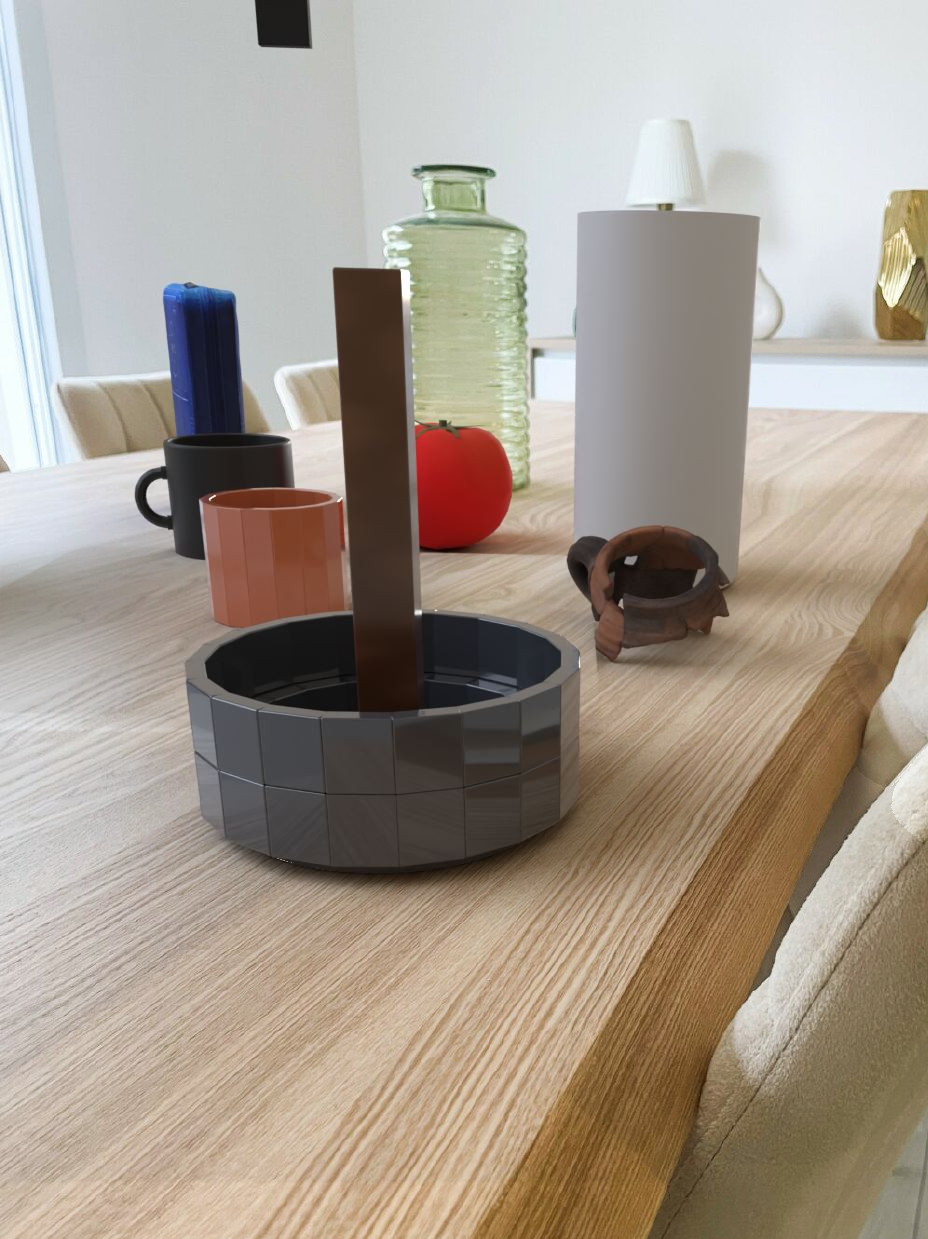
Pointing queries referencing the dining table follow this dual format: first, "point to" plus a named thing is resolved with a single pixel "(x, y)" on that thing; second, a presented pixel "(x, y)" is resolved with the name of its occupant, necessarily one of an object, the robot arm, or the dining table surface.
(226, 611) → the pot
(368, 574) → the stick
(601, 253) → the cylinder vase
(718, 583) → the pottery mug
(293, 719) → the bowl
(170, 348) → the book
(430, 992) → the dining table surface
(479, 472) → the tomato
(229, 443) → the mug
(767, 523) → the dining table surface
